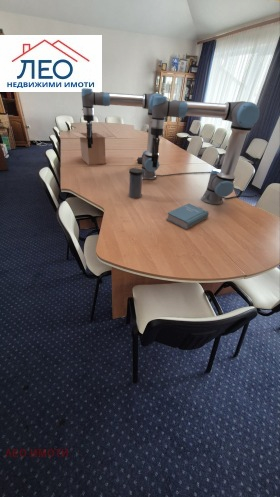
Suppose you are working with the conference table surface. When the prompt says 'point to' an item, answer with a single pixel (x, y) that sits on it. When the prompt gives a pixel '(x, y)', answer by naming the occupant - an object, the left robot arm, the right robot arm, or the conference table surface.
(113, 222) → the conference table surface
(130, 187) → the jar
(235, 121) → the right robot arm
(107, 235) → the conference table surface
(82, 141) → the box
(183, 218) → the book
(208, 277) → the conference table surface
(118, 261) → the conference table surface
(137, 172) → the lid
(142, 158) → the laser sight
